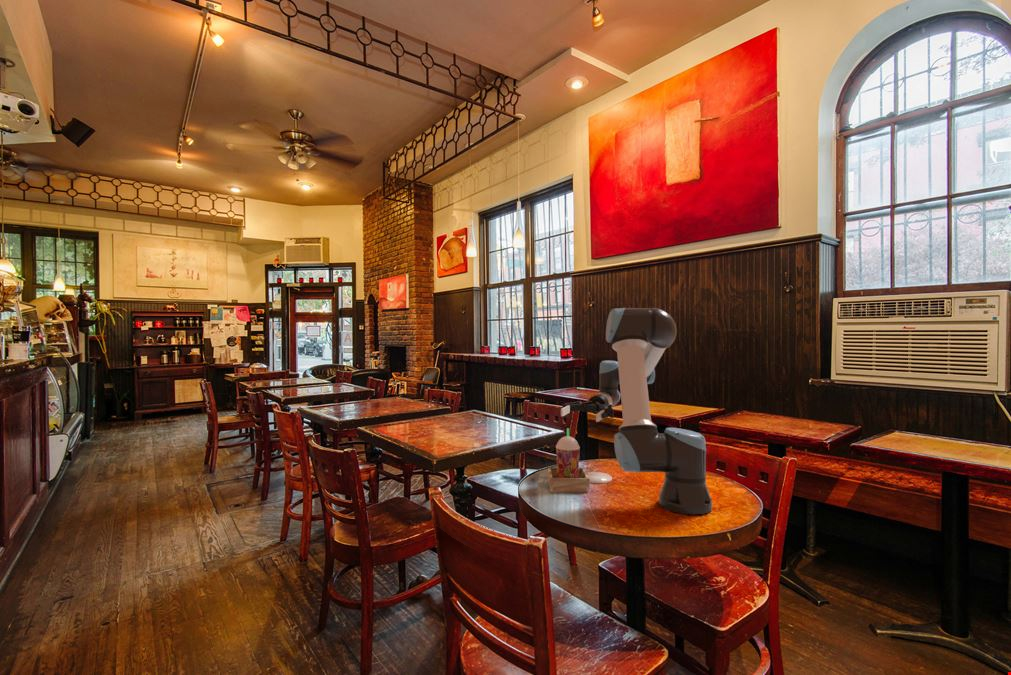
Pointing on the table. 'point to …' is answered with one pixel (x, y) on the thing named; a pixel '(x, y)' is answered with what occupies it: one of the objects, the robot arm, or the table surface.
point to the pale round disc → (599, 477)
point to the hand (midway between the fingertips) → (578, 415)
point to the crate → (568, 482)
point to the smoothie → (567, 457)
